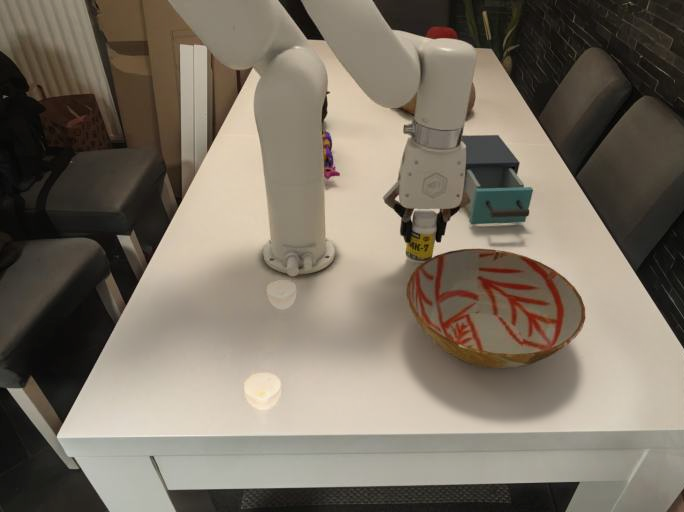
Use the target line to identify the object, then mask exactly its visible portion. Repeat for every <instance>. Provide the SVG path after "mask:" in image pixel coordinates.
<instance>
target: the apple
mask: <svg viewBox="0 0 684 512" xmlns="http://www.w3.org/2000/svg"><path fill="white" fill-rule="evenodd" d="M425 37H426V38H430V39H440V38H448V39H456V40H459V39H458V34H457V32H456V31H455V30H454V29H453V28H451V27H446V26H433V27H430V29H428V30H427V32H426V34H425Z"/></svg>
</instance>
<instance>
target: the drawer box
mask: <svg viewBox="0 0 684 512" xmlns="http://www.w3.org/2000/svg"><path fill="white" fill-rule="evenodd" d="M462 142H463V143H464V144H465V145H466V168H478V167H511V168H512V169H513V171H514V172H515V173H516V175H517V176H518V172H519V168H520V163H521V162H520V160H519V159H517V157H516V156H515V154H514V153H513V152H512V151H511V149H510V148H509V147H508V145H506V143H505V142H504V141H503V139H502V138H501V137H500V135H499V134H485V135H483V134H481V135H480V134H479V135H474V134H473V135H462ZM457 196H458V195H457Z"/></svg>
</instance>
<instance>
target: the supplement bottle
mask: <svg viewBox="0 0 684 512" xmlns="http://www.w3.org/2000/svg"><path fill="white" fill-rule="evenodd" d="M436 220H437V213H436V211H434V209H414V211H413V213H412V218H411V221H412V230H411V237H410V242H409V243H406V246H405V257H406V258H407V259H408V260H409V261H411V262H413V263H416V264H417V263H418V264H422V263H424V262H425V261H426V260H428V259H430V258H432V257H433V255H434V254H433V253H434V250H435V249H434V248H435V244H436V243H435V242H436V240H435V238H436V232H437V225H436Z"/></svg>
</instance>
